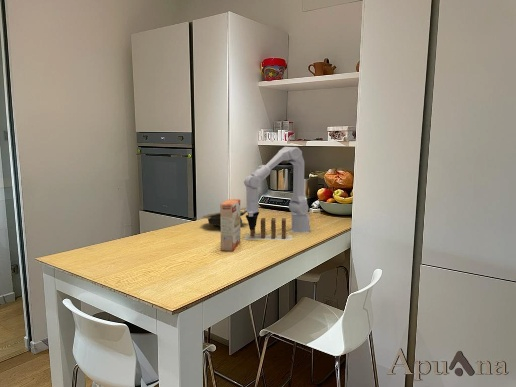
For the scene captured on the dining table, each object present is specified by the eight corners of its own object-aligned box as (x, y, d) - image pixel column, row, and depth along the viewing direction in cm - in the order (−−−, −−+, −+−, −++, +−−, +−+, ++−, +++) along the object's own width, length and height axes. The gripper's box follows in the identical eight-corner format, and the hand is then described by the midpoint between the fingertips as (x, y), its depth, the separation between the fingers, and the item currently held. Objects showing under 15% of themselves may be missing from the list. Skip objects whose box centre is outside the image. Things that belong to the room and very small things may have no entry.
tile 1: (285, 236, 192) (285, 218, 190) (285, 239, 187) (285, 220, 185) (282, 236, 192) (282, 218, 190) (281, 238, 187) (281, 220, 186)
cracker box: (233, 251, 170) (232, 204, 166) (220, 251, 171) (219, 203, 168) (241, 242, 183) (240, 198, 180) (229, 242, 184) (228, 198, 181)
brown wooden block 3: (275, 236, 192) (275, 218, 191) (275, 238, 187) (274, 220, 186) (271, 236, 192) (271, 218, 191) (271, 238, 187) (271, 220, 186)
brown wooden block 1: (255, 233, 193) (255, 215, 192) (254, 236, 188) (253, 218, 187) (251, 233, 193) (251, 215, 192) (250, 236, 188) (250, 218, 187)
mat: (292, 236, 193) (292, 235, 193) (291, 241, 185) (291, 240, 184) (246, 235, 196) (246, 234, 196) (243, 240, 187) (243, 239, 187)
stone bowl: (243, 232, 202) (241, 214, 201) (197, 234, 207) (195, 217, 205) (251, 220, 226) (250, 205, 225) (209, 223, 231) (208, 207, 229)
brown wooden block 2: (265, 236, 193) (265, 218, 191) (264, 238, 188) (264, 220, 186) (261, 235, 193) (261, 218, 192) (260, 238, 188) (260, 220, 187)
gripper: (246, 198, 196) (246, 224, 198) (241, 203, 181) (242, 231, 183) (260, 198, 195) (260, 224, 197) (257, 203, 181) (257, 231, 183)
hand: (252, 228), depth 190 cm, fingers closed on brown wooden block 1, 5 cm apart
